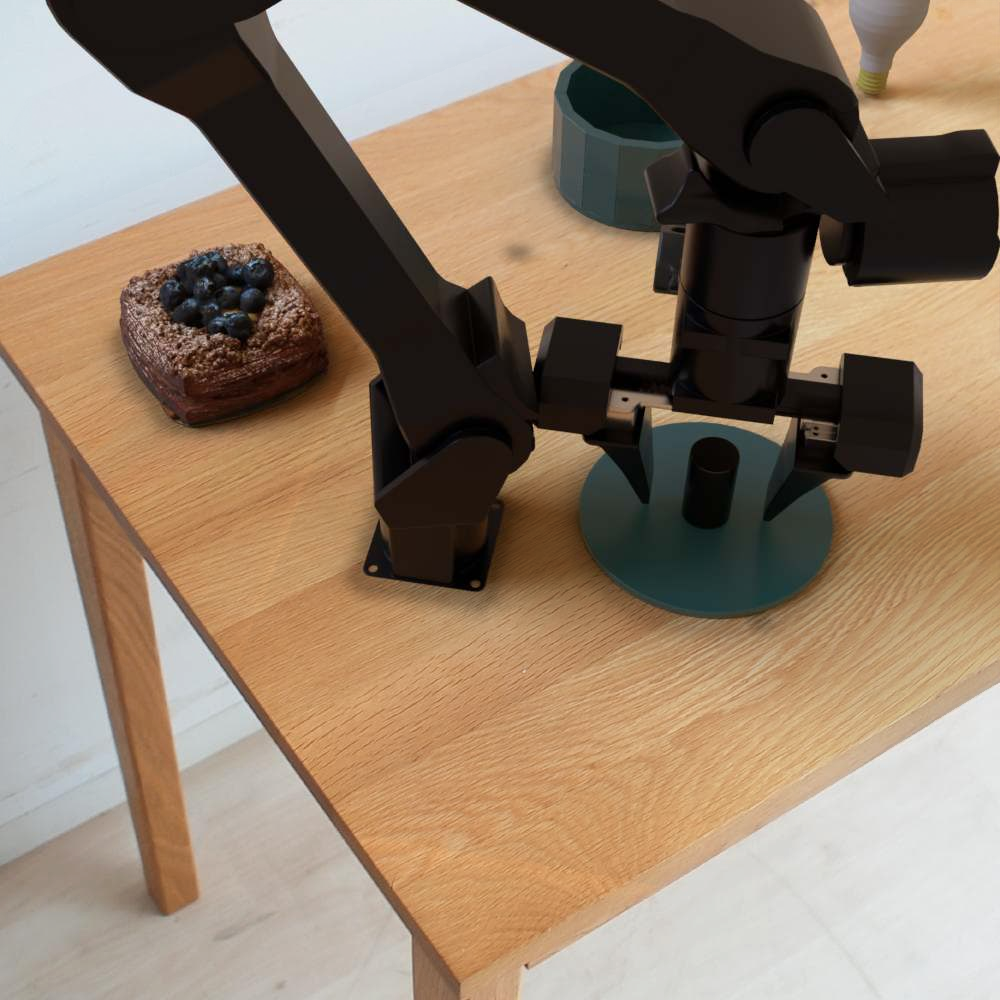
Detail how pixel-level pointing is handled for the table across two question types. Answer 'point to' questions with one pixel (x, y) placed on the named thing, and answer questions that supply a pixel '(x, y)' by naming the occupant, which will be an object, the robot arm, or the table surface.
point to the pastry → (222, 334)
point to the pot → (606, 148)
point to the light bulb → (883, 35)
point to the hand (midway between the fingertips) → (706, 506)
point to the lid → (704, 525)
